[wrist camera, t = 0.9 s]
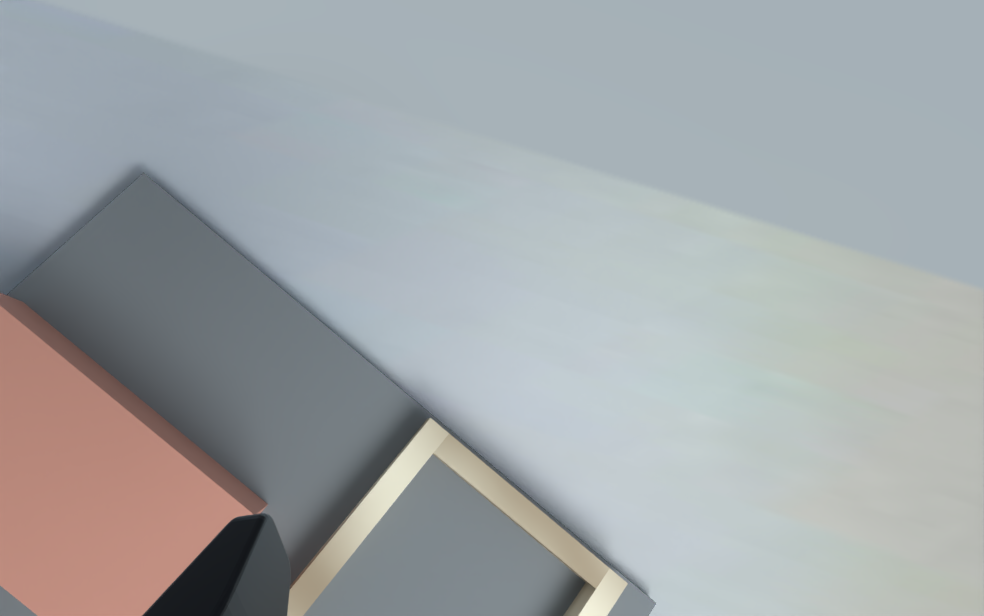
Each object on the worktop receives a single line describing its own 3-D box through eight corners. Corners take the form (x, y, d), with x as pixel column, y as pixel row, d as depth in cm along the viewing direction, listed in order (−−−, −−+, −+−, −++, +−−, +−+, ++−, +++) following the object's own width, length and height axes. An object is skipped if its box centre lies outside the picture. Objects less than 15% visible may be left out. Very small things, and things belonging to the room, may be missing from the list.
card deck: (149, 641, 20) (113, 677, 17) (-116, 427, 19) (-199, 425, 16) (268, 504, 21) (254, 514, 18) (22, 301, 21) (-31, 279, 18)
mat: (322, 1113, 19) (321, 1131, 18) (-326, 602, 18) (-344, 607, 17) (650, 600, 23) (656, 603, 23) (148, 178, 23) (143, 172, 22)
